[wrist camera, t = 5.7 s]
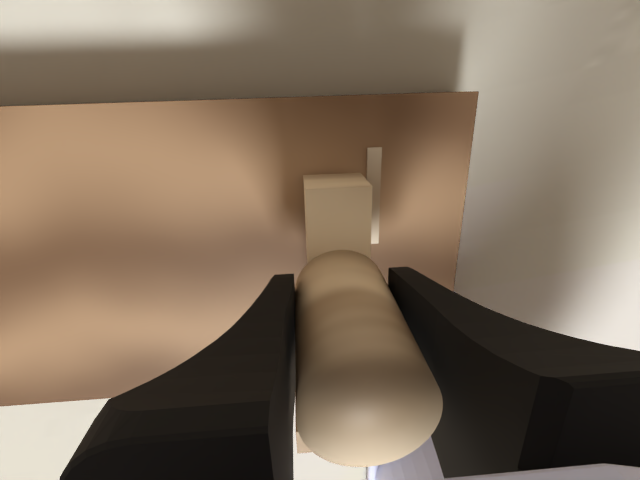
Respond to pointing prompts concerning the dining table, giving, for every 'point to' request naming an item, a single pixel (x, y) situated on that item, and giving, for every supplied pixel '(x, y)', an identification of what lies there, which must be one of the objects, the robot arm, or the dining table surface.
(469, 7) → the dining table surface
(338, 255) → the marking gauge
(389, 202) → the walnut board
